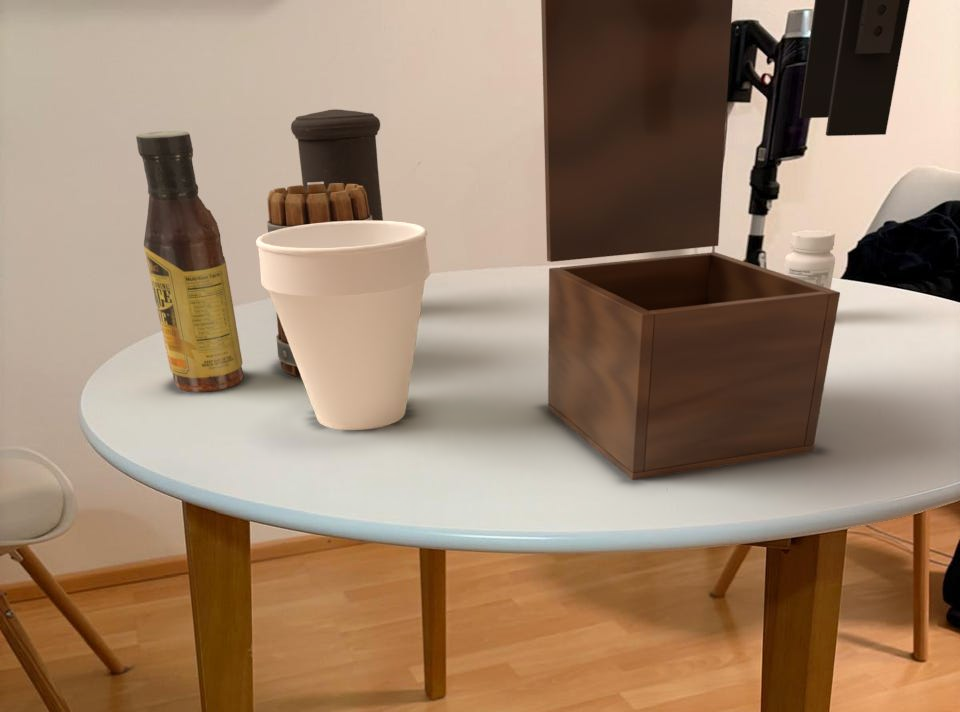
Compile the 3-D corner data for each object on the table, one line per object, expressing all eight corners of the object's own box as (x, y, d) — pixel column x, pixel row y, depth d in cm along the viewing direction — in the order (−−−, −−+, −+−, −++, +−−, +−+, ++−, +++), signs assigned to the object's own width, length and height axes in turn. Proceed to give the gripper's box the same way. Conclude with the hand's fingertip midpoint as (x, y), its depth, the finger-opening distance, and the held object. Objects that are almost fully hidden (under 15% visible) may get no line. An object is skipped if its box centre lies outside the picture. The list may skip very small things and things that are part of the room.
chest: (812, 455, 63) (840, 292, 57) (632, 484, 60) (642, 314, 54) (701, 391, 75) (715, 251, 70) (547, 412, 72) (548, 268, 66)
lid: (734, -20, 61) (727, -18, 62) (545, -16, 58) (540, -14, 59) (718, 245, 69) (713, 245, 70) (550, 261, 66) (546, 261, 67)
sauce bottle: (174, 380, 83) (121, 131, 72) (244, 372, 84) (201, 127, 74) (174, 401, 78) (117, 137, 67) (248, 392, 79) (204, 132, 68)
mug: (398, 378, 81) (383, 192, 73) (279, 388, 80) (250, 200, 72) (385, 334, 94) (370, 173, 86) (282, 342, 93) (257, 179, 85)
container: (316, 308, 105) (291, 109, 95) (394, 304, 106) (378, 105, 95) (313, 327, 98) (286, 113, 87) (396, 322, 99) (379, 109, 88)
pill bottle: (785, 314, 96) (798, 227, 91) (831, 319, 94) (846, 230, 89) (769, 324, 93) (781, 235, 88) (816, 329, 90) (831, 238, 86)
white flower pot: (263, 412, 74) (233, 232, 67) (399, 385, 79) (384, 214, 72) (316, 459, 65) (288, 256, 58) (466, 425, 70) (458, 234, 63)
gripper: (803, -334, 50) (754, 113, 61) (881, -600, 29) (785, 146, 41) (951, -351, 48) (872, 110, 60) (1140, -643, 28) (965, 142, 39)
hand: (837, 126), depth 50 cm, fingers open, 13 cm apart
